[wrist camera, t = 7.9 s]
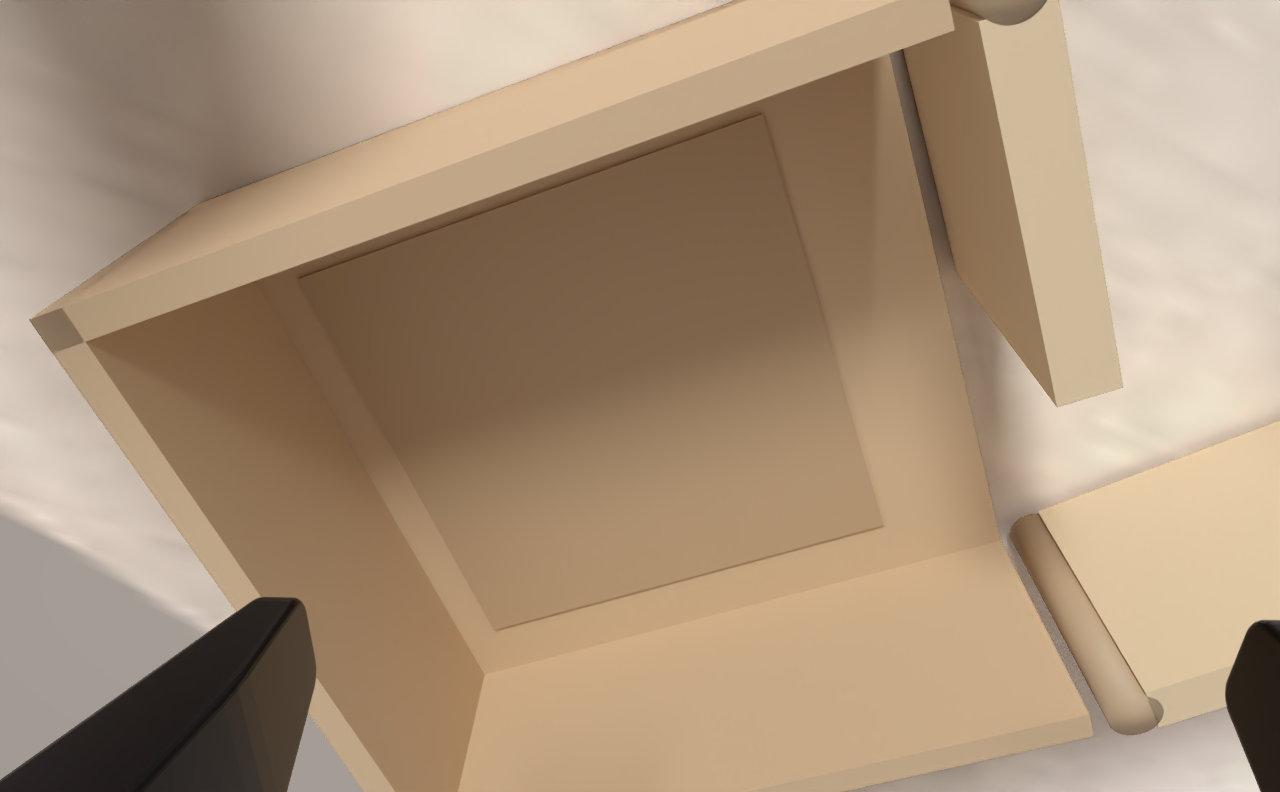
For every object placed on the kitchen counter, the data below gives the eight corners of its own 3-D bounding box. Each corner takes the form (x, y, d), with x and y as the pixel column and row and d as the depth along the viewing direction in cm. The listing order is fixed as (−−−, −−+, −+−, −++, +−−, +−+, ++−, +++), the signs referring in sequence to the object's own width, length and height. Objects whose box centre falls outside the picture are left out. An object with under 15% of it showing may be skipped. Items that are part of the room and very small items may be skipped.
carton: (860, -48, 17) (944, -18, 12) (997, 544, 24) (1093, 736, 18) (197, 204, 20) (29, 319, 15) (477, 679, 26) (429, 882, 21)
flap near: (937, -89, 17) (1055, -78, 12) (1010, 256, 20) (1129, 385, 15) (875, -65, 17) (965, -42, 12) (957, 273, 20) (1056, 407, 15)
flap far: (1312, 449, 22) (1510, 622, 17) (1018, 556, 23) (1117, 745, 18) (1302, 411, 21) (1504, 578, 16) (1005, 523, 23) (1101, 706, 18)
